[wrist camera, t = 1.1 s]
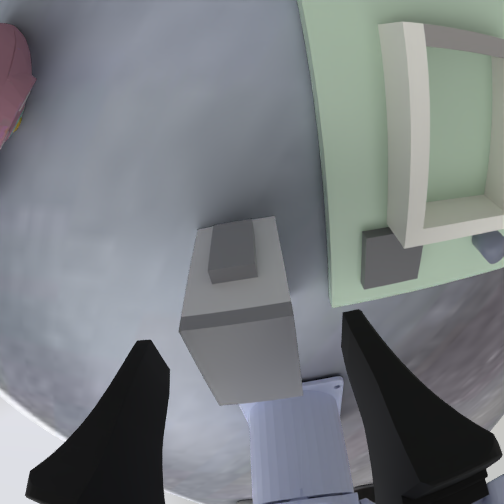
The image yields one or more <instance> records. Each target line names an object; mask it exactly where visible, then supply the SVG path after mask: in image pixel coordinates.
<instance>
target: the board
mask: <svg viewBox="0 0 504 504" xmlns="http://www.w3.org/2000/svg"><path fill="white" fill-rule="evenodd" d="M297 3H298V8H299V13H300V19H301V24H302V29H303V35H304V40H305V46H306V52H307V58H308V65H309V71H310V78H311V84H312V92H313V99H314V106H315V114H316V122H317V131H318V140H319V149H320V159H321V169H322V180H323V192H324V205H325V219H326V236H327V255H328V280H329V299H330V303H331V306H332V308H336V307H341V306H346V305H351V304H356V303H361V302H366V301H371V300H376V299H380V298H385V297H390V296H394V295H399V294H403V293H407V292H412V291H416V290H420V289H424V288H428V287H433V286H437V285H441V284H445V283H448V282H452V281H456V280H460V279H464V278H467V277H471V276H475V275H478V274H482V273H486V272H489V271H493V270H496V269H499V268H503V267H504V0H297Z"/></svg>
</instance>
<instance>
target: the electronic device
mask: <svg viewBox="0 0 504 504" xmlns="http://www.w3.org/2000/svg"><path fill="white" fill-rule="evenodd" d="M353 489H354V493H355V492H357V493H358V499H359V500H362V499H364V498H368V499H369V500H370V501H372V502H374V503H375V493H374V484H370V485H364V486H358V487H355V488H353ZM375 504H376V503H375Z"/></svg>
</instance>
